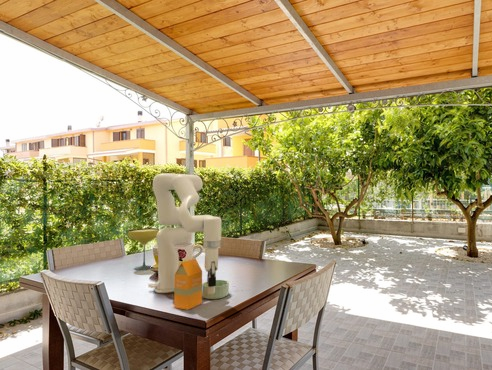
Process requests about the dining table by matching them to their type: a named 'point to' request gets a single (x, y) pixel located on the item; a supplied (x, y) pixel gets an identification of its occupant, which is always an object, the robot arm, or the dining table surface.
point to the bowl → (217, 290)
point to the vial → (211, 288)
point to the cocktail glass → (143, 240)
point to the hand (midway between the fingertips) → (211, 284)
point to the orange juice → (188, 285)
